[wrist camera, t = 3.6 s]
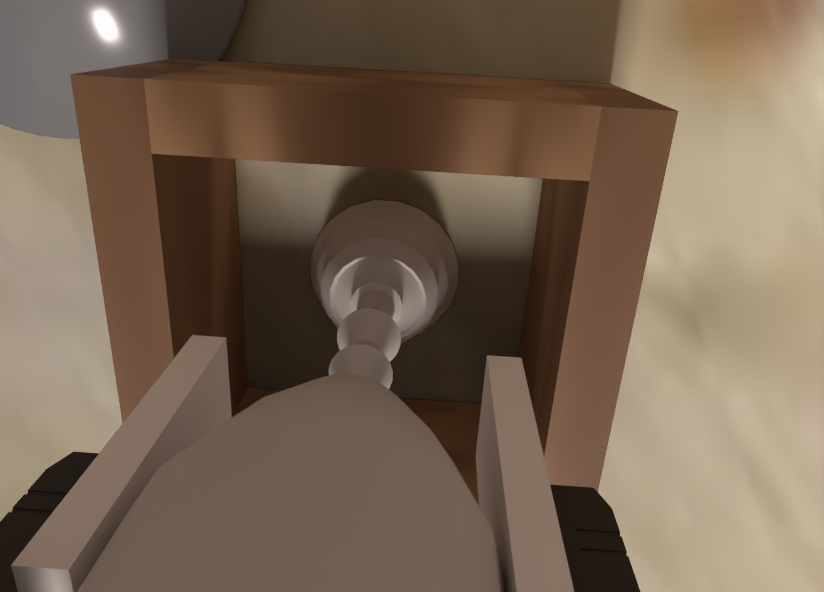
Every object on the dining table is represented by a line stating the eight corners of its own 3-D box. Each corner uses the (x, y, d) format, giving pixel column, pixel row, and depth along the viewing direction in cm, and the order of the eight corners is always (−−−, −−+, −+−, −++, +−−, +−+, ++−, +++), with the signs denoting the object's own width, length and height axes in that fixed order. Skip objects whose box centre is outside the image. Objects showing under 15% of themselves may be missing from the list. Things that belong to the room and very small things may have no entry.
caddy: (207, 420, 25) (139, 537, 19) (176, 57, 19) (69, 74, 14) (550, 444, 24) (581, 570, 19) (610, 84, 19) (678, 111, 14)
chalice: (298, 145, 20) (-340, 714, 4) (509, 190, 21) (780, 904, 4) (272, 346, 23) (-150, 1166, 7) (457, 383, 23) (491, 1258, 7)
